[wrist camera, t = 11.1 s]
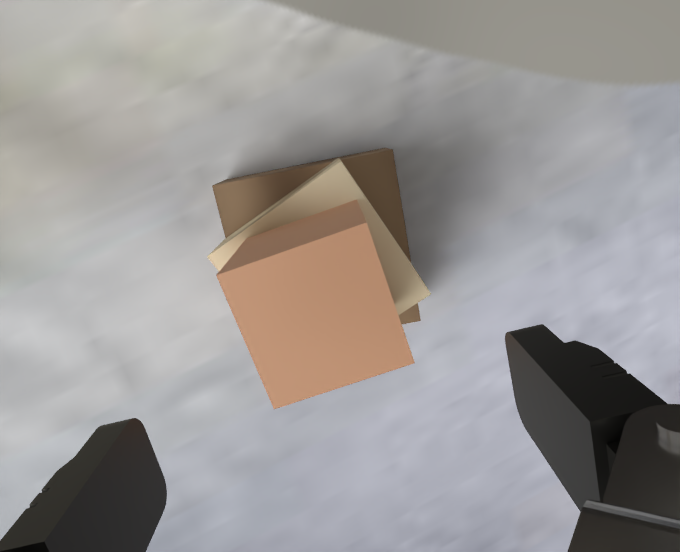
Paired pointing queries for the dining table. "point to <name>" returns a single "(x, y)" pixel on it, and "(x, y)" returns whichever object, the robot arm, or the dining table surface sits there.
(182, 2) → the dining table surface
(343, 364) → the peach cube on top
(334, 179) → the tower middle
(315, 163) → the tower base
